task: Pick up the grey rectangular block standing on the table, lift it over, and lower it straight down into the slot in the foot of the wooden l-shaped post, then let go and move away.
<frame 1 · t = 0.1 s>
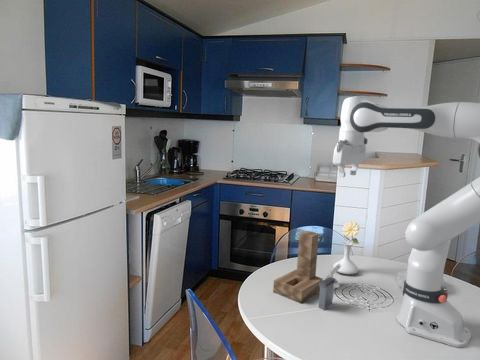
hand: (347, 176, 141), 48 cm above the table, tool pointing down, fingers open, 8 cm apart
food container: (420, 286, 159), on the table
grey rectangular block: (325, 306, 138), on the table
wooden l-shaped post: (297, 291, 149), on the table
white ring with bar: (330, 284, 157), on the table
flower in vase: (346, 272, 170), on the table
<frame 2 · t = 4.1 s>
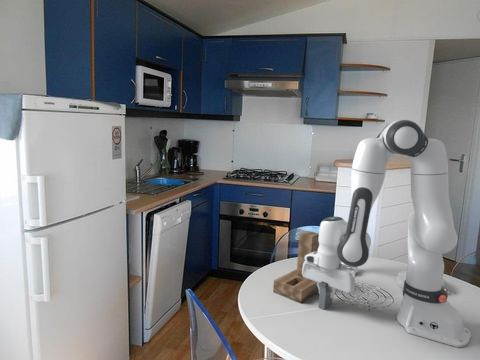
hand: (326, 295, 137), 4 cm above the table, tool pointing down, fingers closed on grey rectangular block, 2 cm apart
grey rectangular block: (325, 306, 138), on the table, touching gripper
everything else where it was.
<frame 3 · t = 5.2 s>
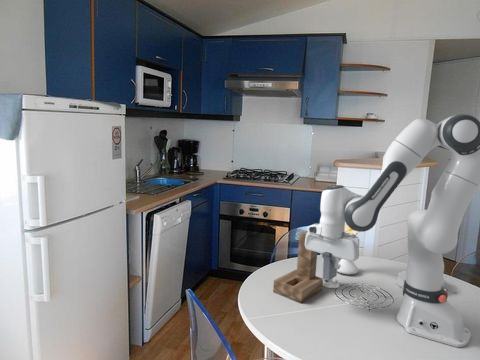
hand: (330, 266, 135), 16 cm above the table, tool pointing down, fingers closed on grey rectangular block, 2 cm apart
grey rectangular block: (329, 277, 136), point 11 cm above the table, touching gripper
everything else where it was.
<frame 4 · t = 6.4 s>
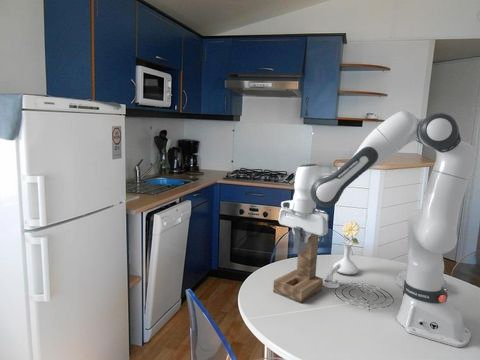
hand: (300, 240, 142), 22 cm above the table, tool pointing down, fingers closed on grey rectangular block, 2 cm apart
grey rectangular block: (299, 251, 143), point 18 cm above the table, touching gripper
everything else where it was.
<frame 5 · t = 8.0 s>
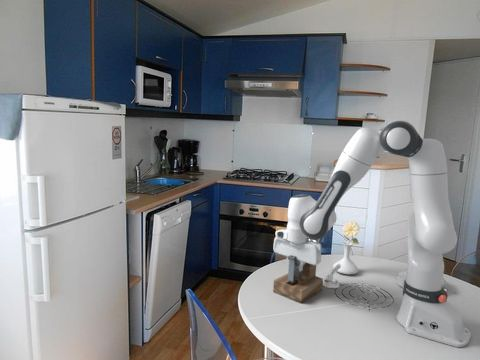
hand: (295, 269, 145), 10 cm above the table, tool pointing down, fingers closed on grey rectangular block, 2 cm apart
grey rectangular block: (294, 279, 146), point 6 cm above the table, touching gripper
everything else where it was.
when the fingers open (7 cm above the table, at t = 9.0 s): grey rectangular block drops 2 cm, resting on wooden l-shaped post.
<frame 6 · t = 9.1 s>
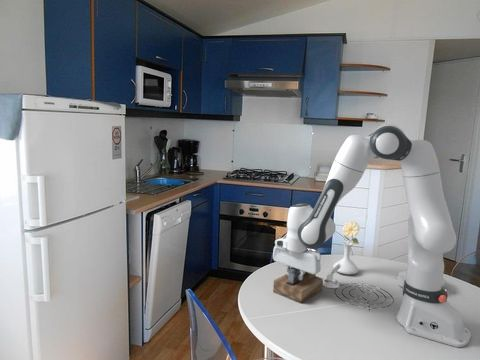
hand: (294, 277, 146), 7 cm above the table, tool pointing down, fingers open, 3 cm apart
grey rectangular block: (293, 291, 146), point 1 cm above the table, touching wooden l-shaped post
everything else where it was.
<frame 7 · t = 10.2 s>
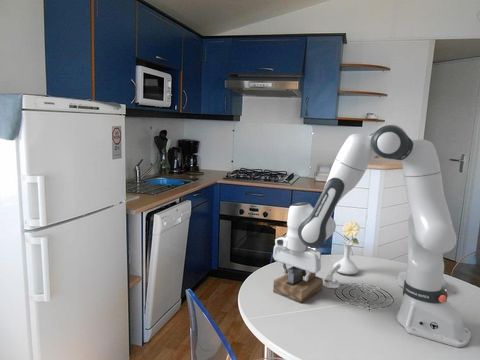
hand: (295, 276, 146), 7 cm above the table, tool pointing down, fingers open, 8 cm apart
nothing on the table moved.
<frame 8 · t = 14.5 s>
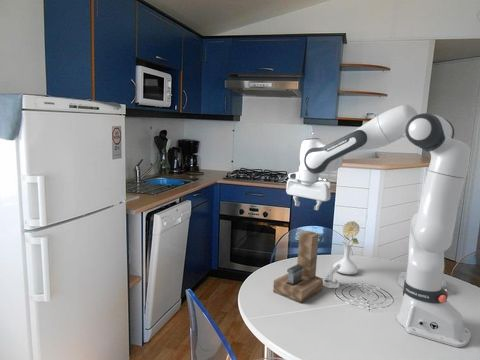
hand: (306, 207, 159), 31 cm above the table, tool pointing down, fingers open, 8 cm apart
nothing on the table moved.
at the end: grey rectangular block 0.0 cm from the target spot on the wooden l-shaped post, point 1.0 cm above the wooden l-shaped post's base; grey rectangular block tilted 0°; the gripper is holding nothing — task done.
